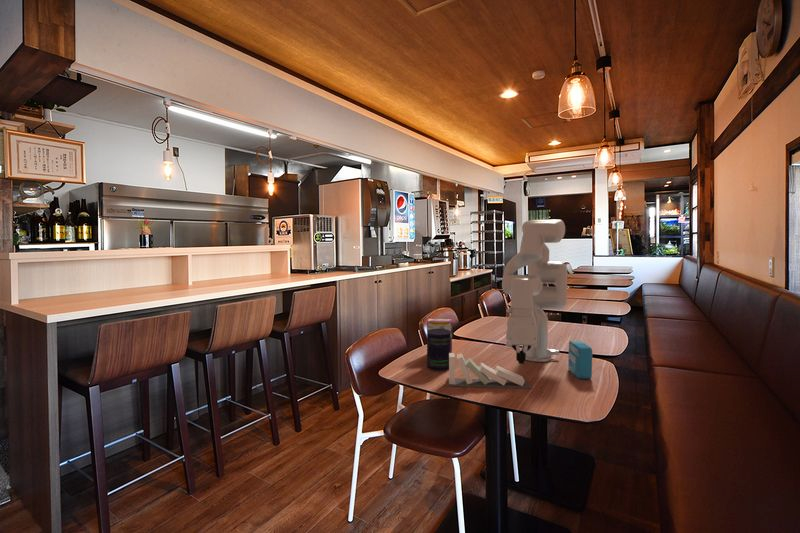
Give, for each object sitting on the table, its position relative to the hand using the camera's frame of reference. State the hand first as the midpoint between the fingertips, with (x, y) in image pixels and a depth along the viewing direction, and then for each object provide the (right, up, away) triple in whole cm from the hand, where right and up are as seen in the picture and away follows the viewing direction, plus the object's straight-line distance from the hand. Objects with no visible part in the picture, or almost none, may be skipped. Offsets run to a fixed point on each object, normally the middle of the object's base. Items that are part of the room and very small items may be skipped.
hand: (520, 362), depth 145 cm
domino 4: (+1, -7, 0) cm, 7 cm away
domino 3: (-6, -7, +1) cm, 9 cm away
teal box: (+26, -7, +11) cm, 29 cm away
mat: (-11, -8, +2) cm, 14 cm away
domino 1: (-24, -8, +3) cm, 26 cm away
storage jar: (-27, -7, +21) cm, 35 cm away
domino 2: (-18, -7, +3) cm, 20 cm away
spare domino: (-12, -7, +2) cm, 14 cm away
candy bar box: (-26, -6, +37) cm, 45 cm away
